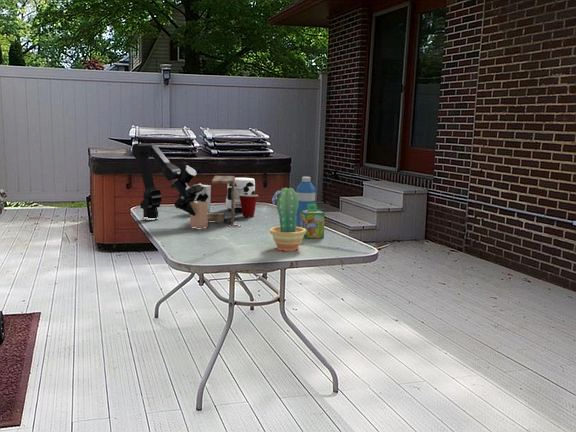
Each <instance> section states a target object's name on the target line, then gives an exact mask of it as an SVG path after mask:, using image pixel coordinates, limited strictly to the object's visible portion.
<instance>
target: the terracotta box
mask: <svg viewBox="0 0 576 432" xmlns="http://www.w3.org/2000/svg"><path fill="white" fill-rule="evenodd" d="M190 206H191V207H192V209H193V210H194V212H195V214H196V215H195V216H193V215H191V214H190V213H189V215H190V216H189V217H190V218H189V222H190V223H189V224H190V226H191V227H196V228H204V227H207V228H208V222H207V202H204V201H194V202H190ZM190 226H189V227H190ZM204 229H205V228H204Z"/></svg>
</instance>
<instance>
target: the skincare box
mask: <svg viewBox="0 0 576 432" xmlns="http://www.w3.org/2000/svg"><path fill="white" fill-rule="evenodd" d="M198 184H199V183H197V184H196V185H198ZM194 185H195V184H193V185H192V186H194ZM202 186H203V190H202V191H200V192H198V193H197V194H198V195H197V196H196V197H198V196H199V194H203V193H206V194H207V195H208V198H207V200H206V201H205V202H207V212H210V213H211V193H212V191H211V190H212V185H210V184H209V185H208V184H202Z"/></svg>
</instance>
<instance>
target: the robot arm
mask: <svg viewBox="0 0 576 432" xmlns="http://www.w3.org/2000/svg"><path fill="white" fill-rule="evenodd" d="M131 152H132V155H133V157H134V158H135V160H137V161H138V165H139V170H140V173H141V177H142V181H143V182H142V183H143V186H144V192H143V200H142V201H141V203H140V204H139V205H140V209H142V211H143V213H142V214H143V217H142V218H144V217H148V218H157V217H158V218H159V210H158V208H160V206H161V204H162V203H161V202H162V197H163V196H162V192H161V190H160V189H157V187H155V186H156V185H155V183H154V178H153V173H152V169H151V165H150V159H149V158H150V156H151V157H152V158H153V159H154V160H155V161H156V163H157V164H158V165H159V166H160V168H161V169H162V174H163V175H164V178H165V179H166V181H173V182H171V185H170V188H171V189H176V191H177V192H178V198H177V199H176V201H174V204H173V205H174V207H175V208H176V209H179V210H181V211H184V212H186V213H188V214H189V215H190V214H191V215H193V216H195V215H196V214H195V212H194V210H193V209H192V207H191V206H190V202H194V201H204V202H205V201H206V200H207V198H208V195H207V194H206V193H203V194H199V196H198V197H196V196H197V195H198V194H197V193H198V192H200V191H202V190H203V186H202V185H203V184H202V183H197V184H198V185H197V184H193V185H194V186H193V185H192V186H189V185H188V184H189V183H191V182H192V181H193V179H194V178H195V177H196V175H197V171H196V170H195V169H194V168H193V167H191V166H189V165H187V164H186V165H184V166H183V168H182V170H181V169H180V168H179V167H178V166H177V165H175V164H173V163H171V162H170V160H169V159H168V158H167V157H166V156H165V154H164V153H163V152H162V150H161V149H160V148H159V146H158V144H156V143H155V144H154V143H153V144H151V143H150V144H148V143H145V142H143V143H138V142H137V143H134V144H133V145H132V147H131ZM207 213H208V212H207ZM208 214H209V213H208Z"/></svg>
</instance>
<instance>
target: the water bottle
mask: <svg viewBox="0 0 576 432" xmlns="http://www.w3.org/2000/svg"><path fill="white" fill-rule="evenodd" d="M295 192H296V194H297V195H298V198H299V205H298V210H297V213H296V227H300V211H301V210H307V204H316V192H317V191H316V188H315V186H314V184H313V183H312V181H311V176H302V177H301V182H300V183H299V184H298V185H297V186H296V191H295ZM310 209H311V210H313V209H314V207H313V206H311V207H310Z"/></svg>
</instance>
